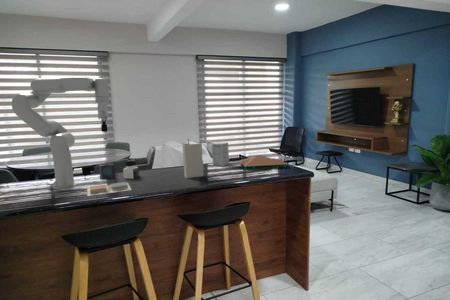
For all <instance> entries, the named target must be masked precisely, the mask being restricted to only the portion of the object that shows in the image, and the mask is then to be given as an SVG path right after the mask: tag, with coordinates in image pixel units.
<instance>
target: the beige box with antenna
mask: <svg viewBox="0 0 450 300" xmlns="http://www.w3.org/2000/svg"><path fill="white" fill-rule="evenodd" d="M202 145H203V144H202V142H197V143H191V144H190V139H189V138H187V143H182V157H183V158H182V159H183V161H182V162H183V173H184V176H183V177H184V178H186V179H191V178H198V177H204V160H203V146H202Z"/></svg>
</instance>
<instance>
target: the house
mask: <svg viewBox="0 0 450 300" xmlns="http://www.w3.org/2000/svg"><path fill="white" fill-rule="evenodd" d="M237 164H238V165H240V168H241V169H244V171H247V168H248V169H249V170H255V169H256V170H258V169H259V167H260V169H263V167H268V166H273V169H276V168H280V167H282V168H285V169H286V168H287V163H286V162H285V161H283V160H282V159H278V158H272V157H267V156H264V155H256V156H252V157H251V156H250V157H248V158H243V159H240V160H239V161H237Z"/></svg>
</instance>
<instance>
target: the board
mask: <svg viewBox="0 0 450 300" xmlns="http://www.w3.org/2000/svg"><path fill="white" fill-rule="evenodd" d="M126 183H127V185H128V189H121V190H114V191H112V187H111V184H105V185H106V190H107V192H99V193H92V194H90V187H87V193H86V196H87V197H90V196H91V197H92V196H97V195H106V194H112V193H120V192H126V191H132V188H131V186H130V184H129V182H126Z"/></svg>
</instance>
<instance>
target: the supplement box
mask: <svg viewBox="0 0 450 300" xmlns="http://www.w3.org/2000/svg"><path fill="white" fill-rule="evenodd" d="M211 151H212V152H211V153H212V166H215V167H217V166H218V167H225V166H228V165H230V156H229V155H230V153H229V152H230V151H229V142H219V141H218V142H214V143H211Z"/></svg>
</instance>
